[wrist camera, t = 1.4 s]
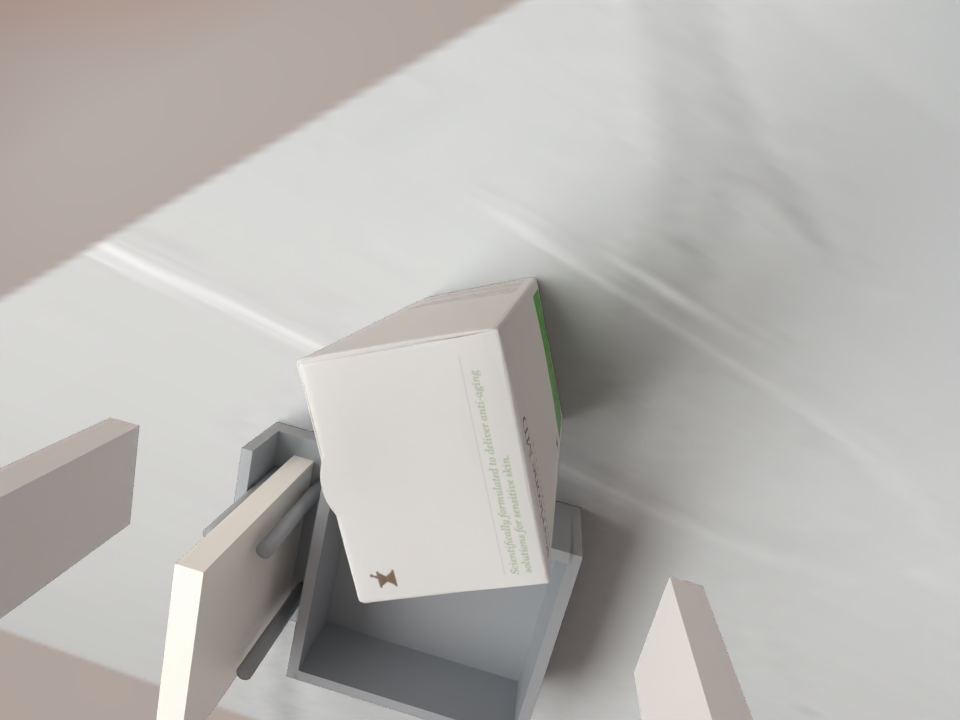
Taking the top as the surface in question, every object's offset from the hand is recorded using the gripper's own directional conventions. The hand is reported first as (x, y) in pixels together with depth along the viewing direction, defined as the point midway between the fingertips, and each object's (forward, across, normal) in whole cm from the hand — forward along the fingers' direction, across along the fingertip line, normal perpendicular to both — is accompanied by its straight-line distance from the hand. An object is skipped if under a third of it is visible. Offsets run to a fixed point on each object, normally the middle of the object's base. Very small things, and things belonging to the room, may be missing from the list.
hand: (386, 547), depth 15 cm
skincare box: (+19, 0, 0) cm, 19 cm away
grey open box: (+19, -2, -13) cm, 23 cm away
